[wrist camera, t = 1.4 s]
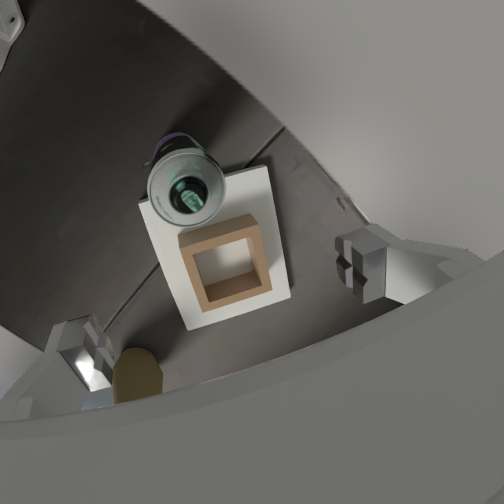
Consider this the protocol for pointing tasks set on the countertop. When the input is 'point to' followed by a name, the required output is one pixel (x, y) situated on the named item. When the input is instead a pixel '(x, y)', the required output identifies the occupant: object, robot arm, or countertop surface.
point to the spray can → (185, 182)
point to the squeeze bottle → (136, 376)
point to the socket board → (224, 253)
